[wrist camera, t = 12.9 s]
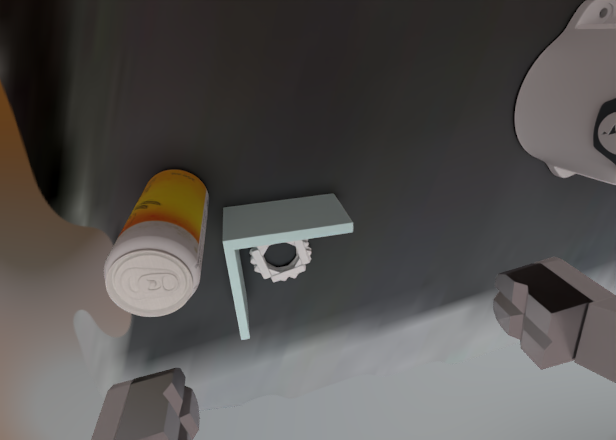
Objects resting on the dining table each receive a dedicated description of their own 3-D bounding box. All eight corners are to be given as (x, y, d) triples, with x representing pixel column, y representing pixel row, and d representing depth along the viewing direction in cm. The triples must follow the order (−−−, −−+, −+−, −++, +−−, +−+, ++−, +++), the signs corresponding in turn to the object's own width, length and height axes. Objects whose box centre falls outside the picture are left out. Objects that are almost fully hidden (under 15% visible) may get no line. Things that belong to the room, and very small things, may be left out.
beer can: (142, 166, 35) (89, 246, 22) (207, 167, 36) (196, 243, 23) (149, 222, 37) (107, 324, 24) (210, 221, 39) (201, 318, 25)
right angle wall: (239, 294, 44) (241, 339, 38) (223, 205, 39) (222, 241, 32) (334, 278, 46) (352, 319, 39) (332, 191, 40) (353, 222, 34)
